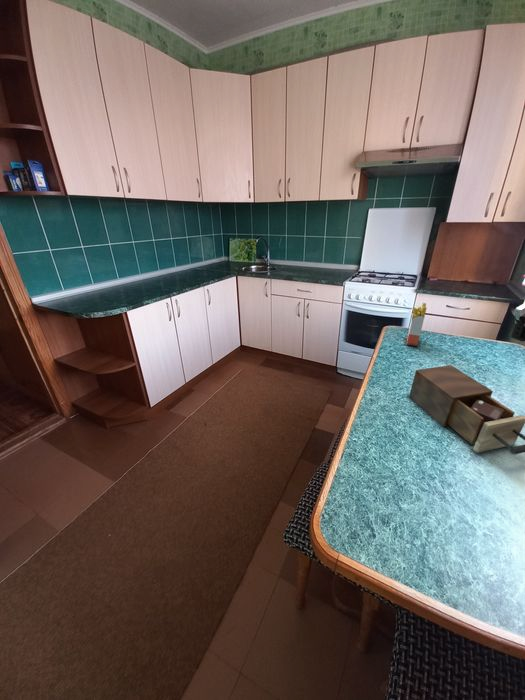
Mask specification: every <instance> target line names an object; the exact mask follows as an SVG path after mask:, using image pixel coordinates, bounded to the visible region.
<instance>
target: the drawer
mask: <svg viewBox="0 0 525 700" xmlns="http://www.w3.org/2000/svg"><path fill="white" fill-rule="evenodd" d="M477 400H480V401H483V402H485V403H488V404H490V405H493V406H495V407H498V408H500V409H503V410H504V412H503V414H502V417H501V419H500V420H494V421H489V422H484V425H483V427H482V429H481V432H480V434H479V436H478V437H477V434H478V432H479V430H480V427H481V425H482V423H483V420H484V418H483V417H482V416H480V415H479V414H477V413H476V412H475V411H473V410H472V409H471V407H472V406H473V404H474V403H475V402H476V401H477ZM515 413H516V412H514V411H513V410H511V409H510V408H508V407H507V406H506V405H504V404H503V403H501V402H499V401H497V400H496V399H494V398H493V397H492V396H491V397H490V396H488V395H487V394H485V395H480V396H474V397H468V398H462V399H457V400H455V402H454V405H453V407H452V410H451V413H450V416H449V419H448V422H447V424H448V425H449V426H448V427H450V428H452V429H453V430H454V431H455V432H456V433H457V434H459V436H461V437H462V438H463V439H464V440H465V441H466V442H468V443H469V444H471V445H473V448H472V450H473V451H474V452H475V453H477V454H479V453H482V452H487V451H491V450H497V449H501V448H507V449H508V450H509V452H510V454H511V455H518V454H522V453H525V444H521V445H516V446H514V445H515V444H516V442H517V440H518V438H520V439H522V440H524V441H525V435H524V434H523V433H521V432H522V431H523V428H524V426H525V415H524V414H521V415H516V416H514V415H515Z"/></svg>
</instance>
